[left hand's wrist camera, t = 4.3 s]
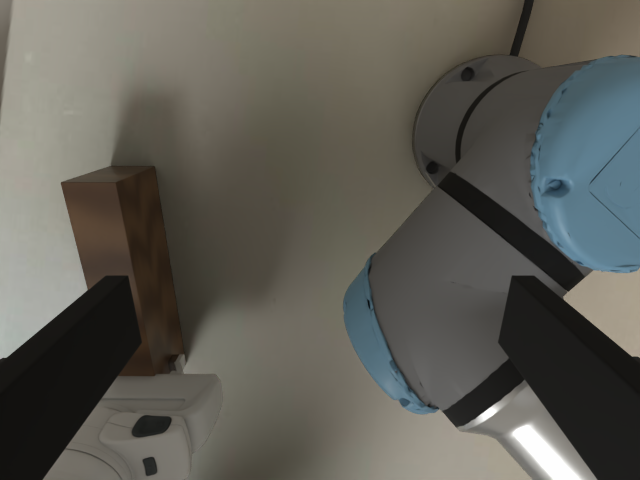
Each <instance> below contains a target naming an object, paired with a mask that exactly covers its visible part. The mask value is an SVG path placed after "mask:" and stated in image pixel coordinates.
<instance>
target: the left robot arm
mask: <svg viewBox="0 0 640 480" xmlns="http://www.w3.org/2000/svg"><path fill="white" fill-rule="evenodd" d="M533 1H534V0H525V2H524V7H523V11H522V14H521V18H520V21H519V25H518V28H517V32H516V35H515V38H514V42H513V45H512V49H511V52H510V55H489V56H484V57H479V58H476V59H472V60H469V61H467V62H464V63H462V64H460V65H458V66H456V67H455V68H453V69H452V70H450V71H449V72H447V73H446V74H445V75H443V76H442V77H441V78H440V79H439V80H438V81H437V82H436V83H435V84H434V85H433V87H432V88H431V89H430V90H429V92H428V93H427V94H426V96H425V98H424V99H423V101H422V103H421V105H420V107H419V110H418V112H417V115H416V118H415V122H414V127H413V134H412V145H413V153H414V157H415V161H416V164H417V166H418V168H419V170H420V172H421V174H422V175H423V177H424V178H425V180H426V181H427V182H428V183H429V184H430V185H431V186H432V187H433V188H434V189H433V190H432V191H431V192H430V194H429V195H428V196H427V197H426V198H425V199H424V200H423V201H422V203H421V204H420V205H419V206H418V207H417V208H416V209H415V210H414V212H413V213H412V214H411V215H410V216H409V217H408V218H407V219H406V221H405V222H404V223H403V224H402V225H401V226H400V227H399V228H398V230H397V231H396V232H395V233H394V234H393V235H392V236H391V237H390V239H389V240H388V241H387V242H386V243H385V244H384V245H383V246H382V247H381V248H380V249H379V251H378V252H377V253H374V254H373V255H371V257H370V258H369V259H368V260H367V262H366V265H365V267H364V268H363V270H362V271H361V272H360V273H359V275H358V276H357V277H356V279H355V280H354V281H353V282H352V283H351V285H350V286H349V288H348V289H347V291H346V294H345V297H344V302H343V310H344V322H345V326H346V329H347V332H348V335H349V338H350V340H351V343H352V345H353V347H354V349H355V351H356V353H357V355H358V356H359V358H360V360H361V362H362V363H363V365H364V366H365V368H366V370H367V371H368V372H369V374H370V375H371V376H372V378H373V379H374V380H375V382H376V383H377V384H378V385H379V386H380V387H381V389H382V390H383V391H384V392H385V393H386V394H388V395H389V396H390V397H391V398H392V399H393V400H399V402H400V404H401V405H402V407H403V408H405V409H407V410H409V411H411V412H413V413H416V414H428V413H435V412H436V411H437V410H439V409H440V410H441V411H442V412H443V413H444V414H445V415H446V416H447V417H448V419H449V420H450V421H451V422H452V423H453V424H454V425H455V427H456V428H457V429H458V430H459V431H462V432H468V433H475V434H481V435H487V436H490V437H492V438H494V439H496V440H497V441H498V442H499V443H500V444H501V445H502V446H503V448H504V449H505V450H506V451H507V452H508V453H509V454H510V455H511V456H512V457H513V459H514V460H515V461H516V462H517V463H518V464H519V465H520V466H521V467H522V468H523V470H524V471H525V472H526V473H527V474H528V475H529V476H530V477H531V478H532V480H640V358H639V357H632V356H630V355H629V354H628V353H627V352H626V351H624V350H623V349H622V348H621V347H620V346H618V345H617V344H616V343H615V342H614V341H612V340H611V339H610V338H609V337H608V336H606V335H605V334H604V333H603V332H602V331H600V330H599V329H598V328H597V327H596V326H594V325H593V324H592V323H591V322H590V321H588V320H587V319H586V318H585V317H584V316H583V315H581V314H580V313H579V312H578V311H576V310H575V309H574V308H573V307H571V306H570V305H569V304H568V303H567V302H565V301H564V299H563V296H564V295H565V294H566V293H567V291H568V292H569V291H570V290H571V289H572V288H573V287H574V286H575V285H577V284H578V283H579V282H580V281H581V280H582V279H583V278H585V277H586V276H587V275H588V274H589V273H591V272H592V271H593V270H601V271H602V272H603V271H607V272H615V273H631V272H635V271H637V270H638V269H639V267H640V57H636V56H630V55H619V56H608V57H603V58H600V59H596V60H589V61H583V62H577V63H571V64H565V65H559V66H553V67H547V68H541V67H540V66H538V65H537V64H535V63H533V62H531V61H529V60H527V59H524V58H520V57H518V54H519V51H520V47H521V44H522V41H523V37H524V34H525V31H526V27H527V24H528V21H529V17H530V14H531V10H532V6H533ZM566 290H567V291H566ZM141 343H142V339H141V335H140V330H139V325H138V320H137V315H136V311H135V306H134V301H133V296H132V291H131V286H130V282H129V277H128V275H106V276H105V277H103V278H102V279H101V280H100V281H99V282H97V283H96V284H95V285H94V286H93V287H91V288H90V289H89V290H88V291H87V292H85V293H84V294H83V295H82V296H81V297H79V298H78V299H77V300H76V301H75V302H73V303H72V304H71V305H70V306H69V307H67V308H66V309H65V310H64V311H62V312H61V313H60V314H59V315H58V316H56V317H55V318H54V319H53V320H52V321H50V322H49V323H48V324H47V325H46V326H44V327H43V328H42V329H41V330H40V331H38V332H37V333H36V334H35V335H34V336H32V337H31V338H30V339H29V340H28V341H26V342H25V343H24V344H23V345H22V346H20V347H19V348H18V349H17V350H16V351H14V352H13V353H12V354H11V355H10V356H8V357H7V358H2V359H0V480H43V479H44V477H45V476H46V474H47V473H48V472H49V470H50V469H51V468H52V466H53V465H54V463H55V462H56V461H57V459H58V458H59V457H60V455H61V454H62V452H63V451H64V450H65V448H66V447H67V446H68V444H69V443H70V441H71V440H72V439H73V437H74V436H75V435H76V433H77V432H78V430H79V429H80V428H81V426H82V425H83V423H84V422H85V421H86V419H87V418H88V417H89V415H90V414H91V412H92V411H93V410H94V408H95V407H96V406H97V404H98V403H99V401H100V400H101V399H102V397H103V396H104V395H105V393H106V392H107V390H108V389H109V388H110V386H111V385H112V383H113V382H114V381H115V379H116V378H117V377H118V375H119V374H120V372H121V371H122V370H123V368H124V367H125V366H126V364H127V363H128V361H129V360H130V359H131V357H132V356H133V355H134V353H135V352H136V350H137V349H138V348H139V346H140V345H141Z"/></svg>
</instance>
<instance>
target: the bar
mask: <svg viewBox="0 0 640 480" xmlns="http://www.w3.org/2000/svg"><path fill="white" fill-rule="evenodd" d="M61 186H62V190H63V194H64V198H65V201H66V205H67V209H68V213H69V217H70V221H71V225H72V229H73V233H74V237H75V241H76V245H77V249H78V253H79V257H80V260H81V264H82V268H83V272H84V276H85V280H86V284H87V288H88V290H89V289H90V288H91V287H93V286H94V285H95V284H96V283H97V282H99V281H100V280H101V279H102V278H103V277H105V276H106V275H128V277H129V282H130V286H131V291H132V296H133V301H134V306H135V311H136V315H137V320H138V325H139V330H140V335H141V339H142V343H141V345H140V346H139V348H138V349H137V350H136V352H135V353H134V355H133V356H132V357H131V359H130V360H129V361H128V363H127V364H126V366H125V367H124V368H123V370H122V371H121V372H120V374H119V375H118V376H155V375H156V374H170V370H169V368H170V367H169V365H168V361H169V359H170V358H171V356H172V354H184V348H183V342H182V335H181V329H180V323H179V316H178V310H177V304H176V298H175V291H174V285H173V279H172V273H171V266H170V260H169V254H168V248H167V241H166V235H165V229H164V222H163V216H162V210H161V204H160V197H159V191H158V185H157V179H156V172H155V167H154V166H109V167H106V168H103V169H100V170H97V171H94V172H91V173H88V174H85V175H82V176H79V177H76V178H73V179H69V180H66V181H63V182H61ZM184 355H185V354H184ZM185 365H186V360H185Z"/></svg>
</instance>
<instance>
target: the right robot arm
mask: <svg viewBox="0 0 640 480" xmlns="http://www.w3.org/2000/svg"><path fill="white" fill-rule="evenodd" d="M168 365H169V367H170V368H169V370H170V374H156V375H155V376H118V377H117V378H116V379H115V381H114V382H113V383H112V385H111V386H110V388H109V389H108V390H107V392H106V393H105V395H104V396H103V397H102V399H101V400H100V401H99V403H98V404H97V406H96V407H95V408H94V410H93V411H92V412H91V414H90V415H89V417H88V418H87V419H86V421H85V422H84V423H83V425H82V426H81V428H80V429H79V430H78V432H77V433H76V435H75V436H74V437H73V439H72V440H71V441H70V443H69V444H68V446H67V447H66V448H65V450H64V451H63V452H62V454H61V455H60V457H59V458H58V459H57V461H56V462H55V463H54V465H53V466H52V468H51V469H50V470H49V472H48V473H47V474H46V476H45V477H44V479H43V480H184V479H186V478H187V477H188V475H189V473H190V471H191V467H192V453H194V452H196V451H197V450H198V449H200V448H201V447H202V446H203V444H204V443H205V442H206V440H207V439H208V437H209V435H210V433H211V431H212V429H213V427H214V424H215V422H216V420H217V417H218V415H219V412H220V409H221V406H222V402H223V392H222V384H221V381H220V379H219V378H218V377H217V375H215V374H184V373H183V369H184V367H185V355H184V354H172V356H171V358H170V359H169V361H168Z"/></svg>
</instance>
